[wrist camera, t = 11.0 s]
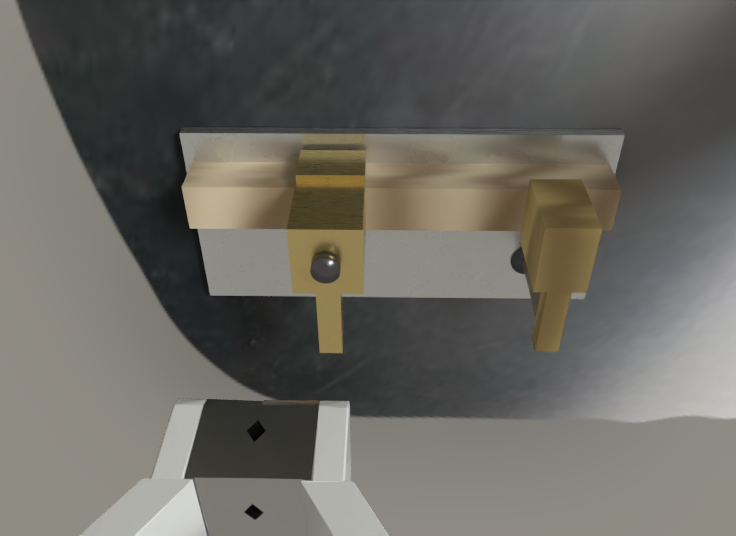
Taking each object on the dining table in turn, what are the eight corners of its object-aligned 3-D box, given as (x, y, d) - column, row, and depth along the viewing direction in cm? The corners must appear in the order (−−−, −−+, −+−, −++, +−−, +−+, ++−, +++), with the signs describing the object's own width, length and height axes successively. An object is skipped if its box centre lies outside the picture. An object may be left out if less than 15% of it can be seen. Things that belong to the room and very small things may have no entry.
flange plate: (621, 129, 43) (625, 136, 42) (581, 291, 51) (584, 300, 50) (182, 127, 43) (178, 133, 42) (212, 288, 51) (210, 296, 50)
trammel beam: (611, 154, 43) (650, 229, 36) (583, 271, 48) (613, 353, 42) (190, 152, 43) (157, 225, 37) (212, 268, 49) (186, 348, 43)
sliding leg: (366, 150, 42) (361, 232, 36) (366, 273, 48) (363, 364, 42) (300, 150, 43) (284, 231, 36) (309, 272, 48) (296, 363, 42)
